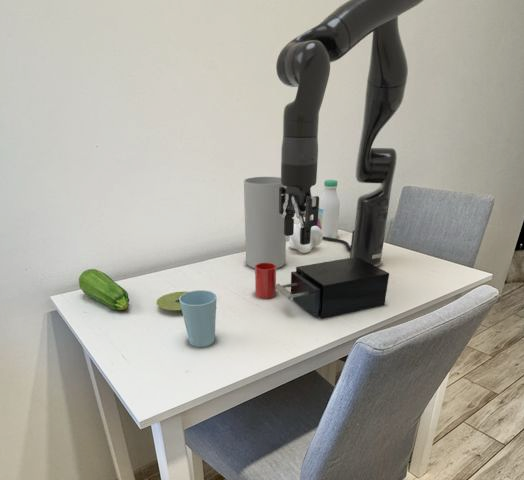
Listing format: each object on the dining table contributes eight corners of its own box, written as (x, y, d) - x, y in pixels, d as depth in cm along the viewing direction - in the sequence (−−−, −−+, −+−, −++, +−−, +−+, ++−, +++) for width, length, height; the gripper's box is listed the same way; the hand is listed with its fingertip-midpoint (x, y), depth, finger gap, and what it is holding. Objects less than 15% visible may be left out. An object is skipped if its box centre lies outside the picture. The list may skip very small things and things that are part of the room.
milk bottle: (339, 235, 161) (344, 179, 150) (333, 241, 155) (338, 183, 144) (320, 233, 163) (323, 178, 153) (313, 238, 157) (317, 181, 147)
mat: (153, 302, 110) (152, 295, 109) (195, 295, 114) (194, 288, 113) (162, 320, 101) (161, 313, 100) (207, 311, 105) (207, 304, 104)
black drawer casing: (321, 319, 101) (323, 285, 97) (294, 297, 112) (296, 266, 107) (384, 305, 108) (389, 273, 103) (353, 286, 118) (357, 256, 114)
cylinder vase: (261, 254, 142) (260, 175, 129) (292, 262, 136) (295, 179, 123) (238, 265, 133) (234, 181, 120) (270, 273, 127) (270, 185, 114)
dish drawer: (292, 320, 99) (293, 293, 95) (270, 300, 108) (270, 275, 105) (374, 303, 107) (378, 277, 103) (346, 285, 116) (349, 262, 113)
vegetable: (89, 260, 113) (127, 281, 101) (105, 279, 118) (143, 301, 106) (68, 278, 111) (104, 301, 98) (85, 297, 116) (122, 321, 104)
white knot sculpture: (310, 257, 139) (311, 230, 134) (278, 251, 144) (279, 225, 140) (325, 248, 147) (327, 222, 142) (295, 243, 153) (295, 218, 148)
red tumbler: (252, 292, 115) (251, 264, 111) (270, 289, 117) (270, 261, 113) (260, 300, 111) (260, 271, 107) (278, 296, 113) (279, 267, 108)
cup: (177, 339, 93) (172, 296, 87) (206, 329, 97) (203, 287, 92) (196, 353, 88) (191, 308, 83) (226, 341, 92) (223, 298, 87)
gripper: (333, 163, 83) (327, 246, 91) (298, 155, 94) (296, 229, 103) (299, 166, 80) (296, 250, 89) (268, 157, 91) (268, 233, 100)
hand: (296, 239), depth 96 cm, fingers open, 7 cm apart
